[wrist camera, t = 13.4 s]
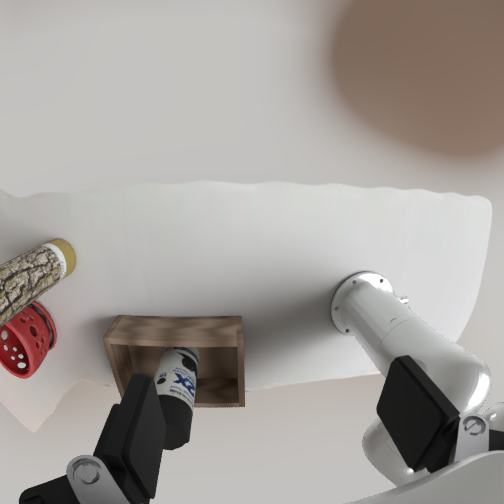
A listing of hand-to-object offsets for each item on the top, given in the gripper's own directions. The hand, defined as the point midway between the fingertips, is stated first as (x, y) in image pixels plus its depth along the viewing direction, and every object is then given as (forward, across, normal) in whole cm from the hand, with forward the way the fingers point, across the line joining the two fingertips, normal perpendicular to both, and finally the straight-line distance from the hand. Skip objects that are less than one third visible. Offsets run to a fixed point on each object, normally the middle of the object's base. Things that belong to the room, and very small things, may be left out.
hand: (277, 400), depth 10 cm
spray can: (+36, +11, +22) cm, 43 cm away
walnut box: (+36, +11, +22) cm, 44 cm away
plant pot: (+37, +43, +18) cm, 59 cm away
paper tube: (+36, +32, +4) cm, 49 cm away
